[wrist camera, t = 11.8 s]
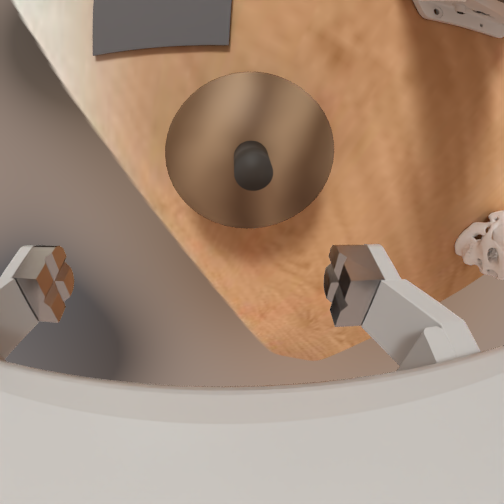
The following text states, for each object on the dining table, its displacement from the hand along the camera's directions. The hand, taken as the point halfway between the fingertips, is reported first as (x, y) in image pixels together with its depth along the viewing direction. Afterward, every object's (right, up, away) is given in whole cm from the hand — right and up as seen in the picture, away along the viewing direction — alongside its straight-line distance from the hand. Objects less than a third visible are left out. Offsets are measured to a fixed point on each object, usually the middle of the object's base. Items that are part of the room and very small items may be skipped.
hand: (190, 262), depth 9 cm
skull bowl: (+44, +4, +36) cm, 57 cm away
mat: (-8, +28, +13) cm, 32 cm away
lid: (+2, +10, +20) cm, 23 cm away
